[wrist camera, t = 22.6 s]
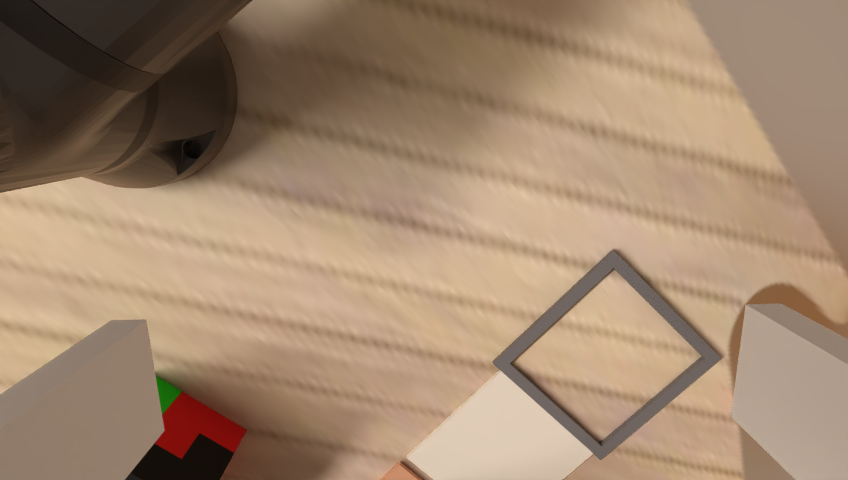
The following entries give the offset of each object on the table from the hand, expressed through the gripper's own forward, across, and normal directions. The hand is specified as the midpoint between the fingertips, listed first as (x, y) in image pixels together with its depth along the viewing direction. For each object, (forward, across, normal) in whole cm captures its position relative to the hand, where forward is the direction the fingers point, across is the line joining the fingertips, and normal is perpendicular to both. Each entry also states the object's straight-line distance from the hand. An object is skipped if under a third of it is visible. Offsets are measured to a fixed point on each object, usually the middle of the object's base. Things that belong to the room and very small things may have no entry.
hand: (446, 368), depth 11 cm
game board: (+31, +6, -25) cm, 40 cm away
